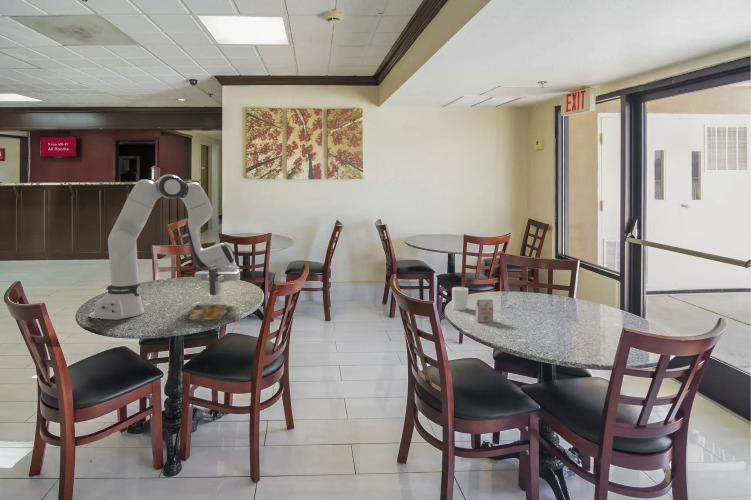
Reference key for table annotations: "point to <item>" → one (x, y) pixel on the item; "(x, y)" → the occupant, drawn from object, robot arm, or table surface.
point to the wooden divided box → (208, 312)
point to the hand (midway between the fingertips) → (213, 279)
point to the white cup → (459, 298)
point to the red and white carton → (484, 311)
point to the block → (213, 280)
